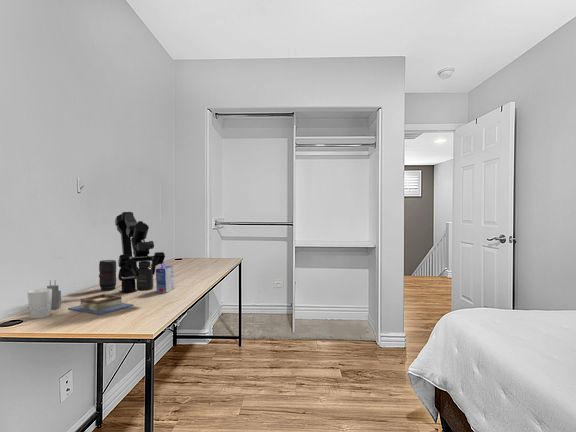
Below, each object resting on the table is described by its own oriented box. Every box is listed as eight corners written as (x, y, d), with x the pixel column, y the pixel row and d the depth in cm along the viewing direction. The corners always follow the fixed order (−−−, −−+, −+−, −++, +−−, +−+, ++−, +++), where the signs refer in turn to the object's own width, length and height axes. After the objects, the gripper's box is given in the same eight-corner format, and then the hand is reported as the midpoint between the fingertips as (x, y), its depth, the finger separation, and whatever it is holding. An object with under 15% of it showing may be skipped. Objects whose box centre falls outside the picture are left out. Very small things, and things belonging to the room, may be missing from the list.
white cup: (26, 320, 139) (26, 293, 139) (29, 315, 146) (29, 289, 146) (51, 317, 143) (51, 291, 143) (53, 312, 150) (53, 287, 150)
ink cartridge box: (164, 288, 194) (163, 261, 194) (174, 289, 194) (174, 261, 194) (155, 293, 184) (155, 263, 184) (166, 293, 184) (166, 264, 184)
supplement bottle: (156, 288, 162) (156, 261, 162) (144, 291, 156) (144, 263, 156) (145, 287, 166) (145, 260, 165) (132, 290, 159) (132, 262, 159)
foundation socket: (80, 307, 155) (80, 299, 154) (104, 302, 164) (104, 293, 164) (98, 310, 150) (98, 301, 150) (121, 304, 159) (121, 296, 159)
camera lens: (106, 291, 188) (106, 262, 188) (95, 290, 192) (95, 261, 192) (120, 288, 196) (119, 260, 195) (109, 287, 199) (109, 259, 199)
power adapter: (47, 308, 157) (47, 279, 157) (61, 307, 158) (61, 279, 158) (44, 309, 154) (43, 280, 154) (58, 309, 155) (58, 280, 155)
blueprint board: (68, 309, 154) (68, 308, 154) (102, 300, 169) (102, 299, 169) (100, 315, 145) (100, 313, 145) (133, 305, 160) (133, 304, 160)
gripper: (119, 235, 158) (124, 265, 149) (163, 234, 169) (171, 261, 160) (116, 252, 165) (121, 281, 156) (159, 249, 176) (166, 276, 167)
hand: (145, 274), depth 160 cm, fingers closed on supplement bottle, 7 cm apart
